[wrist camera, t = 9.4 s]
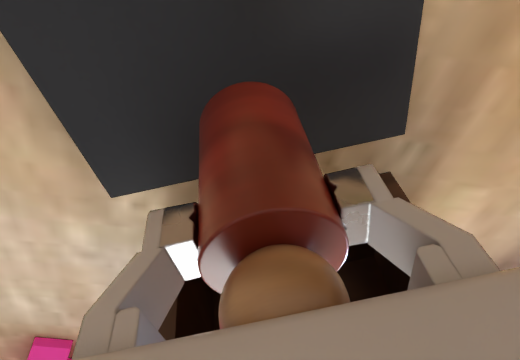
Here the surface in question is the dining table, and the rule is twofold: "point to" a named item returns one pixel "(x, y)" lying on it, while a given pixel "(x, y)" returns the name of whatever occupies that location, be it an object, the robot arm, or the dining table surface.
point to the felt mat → (210, 72)
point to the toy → (264, 210)
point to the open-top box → (351, 272)
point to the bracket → (50, 349)
